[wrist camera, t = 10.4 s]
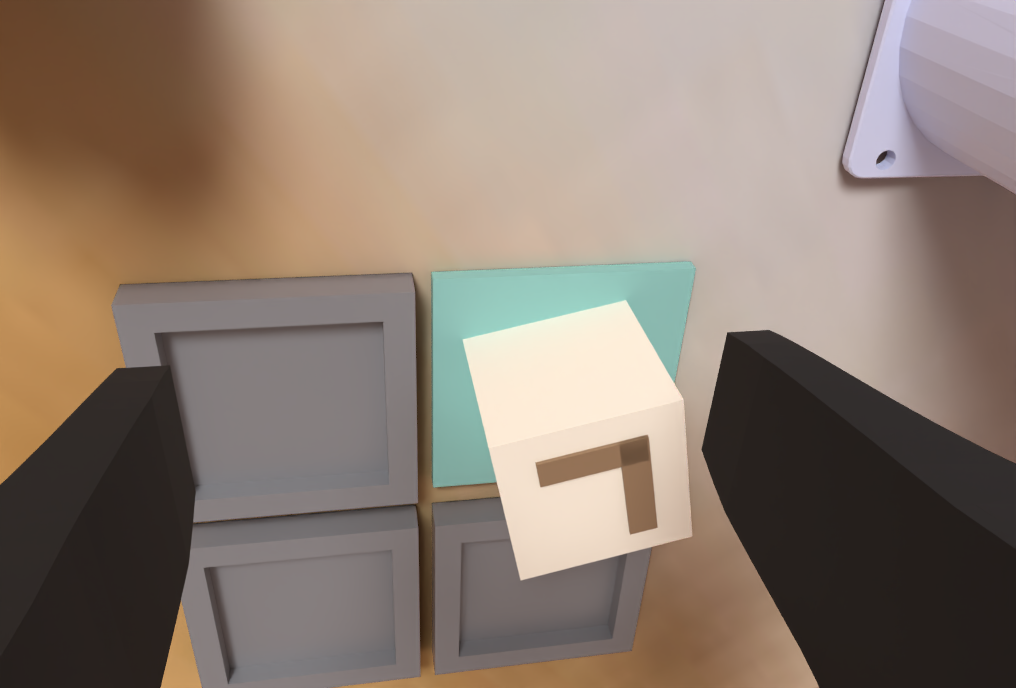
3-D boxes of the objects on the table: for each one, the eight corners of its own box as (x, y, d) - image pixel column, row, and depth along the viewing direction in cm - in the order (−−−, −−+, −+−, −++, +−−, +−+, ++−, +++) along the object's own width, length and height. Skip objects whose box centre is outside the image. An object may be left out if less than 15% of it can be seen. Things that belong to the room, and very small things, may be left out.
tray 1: (411, 272, 22) (414, 292, 21) (415, 479, 25) (417, 503, 25) (120, 284, 20) (111, 305, 20) (169, 499, 24) (163, 525, 23)
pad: (690, 261, 23) (695, 268, 23) (654, 460, 27) (658, 468, 26) (431, 272, 22) (432, 279, 21) (431, 478, 26) (433, 487, 25)
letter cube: (625, 300, 23) (684, 402, 19) (639, 426, 25) (693, 539, 21) (462, 339, 23) (489, 450, 19) (492, 463, 25) (521, 583, 21)
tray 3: (649, 483, 27) (659, 506, 26) (623, 627, 31) (631, 651, 30) (432, 502, 26) (435, 526, 25) (431, 650, 30) (435, 674, 29)
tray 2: (415, 504, 26) (418, 528, 25) (417, 652, 30) (420, 677, 29) (175, 525, 25) (169, 550, 24) (209, 676, 29) (206, 702, 28)
